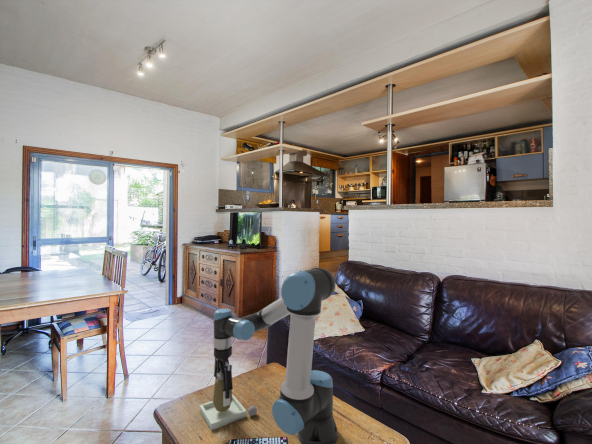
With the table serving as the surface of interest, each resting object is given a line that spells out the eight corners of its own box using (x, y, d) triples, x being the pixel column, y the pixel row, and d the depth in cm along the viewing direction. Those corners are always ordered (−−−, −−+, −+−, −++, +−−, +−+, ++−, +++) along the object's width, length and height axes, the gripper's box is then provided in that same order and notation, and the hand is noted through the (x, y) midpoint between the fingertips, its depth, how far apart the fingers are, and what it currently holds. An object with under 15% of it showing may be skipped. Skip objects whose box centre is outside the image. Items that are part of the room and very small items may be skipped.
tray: (246, 416, 125) (246, 410, 125) (211, 430, 117) (211, 424, 117) (232, 399, 138) (232, 394, 138) (199, 411, 129) (199, 405, 129)
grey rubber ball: (258, 415, 126) (258, 407, 126) (250, 419, 124) (250, 410, 124) (254, 411, 129) (254, 403, 129) (246, 414, 127) (246, 405, 127)
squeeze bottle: (229, 414, 123) (229, 370, 123) (210, 413, 123) (210, 369, 124) (234, 402, 131) (234, 361, 131) (216, 402, 131) (216, 361, 132)
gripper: (241, 352, 121) (241, 409, 121) (222, 337, 138) (222, 386, 138) (223, 357, 117) (223, 416, 117) (206, 340, 134) (206, 391, 134)
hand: (222, 400), depth 127 cm, fingers closed on squeeze bottle, 8 cm apart
